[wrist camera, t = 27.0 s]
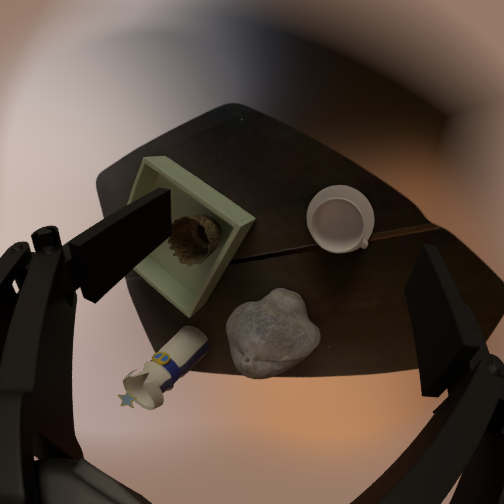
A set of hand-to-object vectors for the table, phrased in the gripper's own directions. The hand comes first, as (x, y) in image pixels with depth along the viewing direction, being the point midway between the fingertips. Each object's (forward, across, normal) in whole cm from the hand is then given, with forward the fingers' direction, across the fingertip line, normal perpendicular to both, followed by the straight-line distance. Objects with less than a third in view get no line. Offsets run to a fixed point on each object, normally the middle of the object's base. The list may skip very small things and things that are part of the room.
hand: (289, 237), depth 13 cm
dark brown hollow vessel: (+27, -16, -15) cm, 35 cm away
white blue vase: (+24, -19, -42) cm, 52 cm away
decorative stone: (+25, -1, -27) cm, 37 cm away
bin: (+28, -22, -18) cm, 40 cm away
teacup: (+27, +4, -9) cm, 29 cm away
